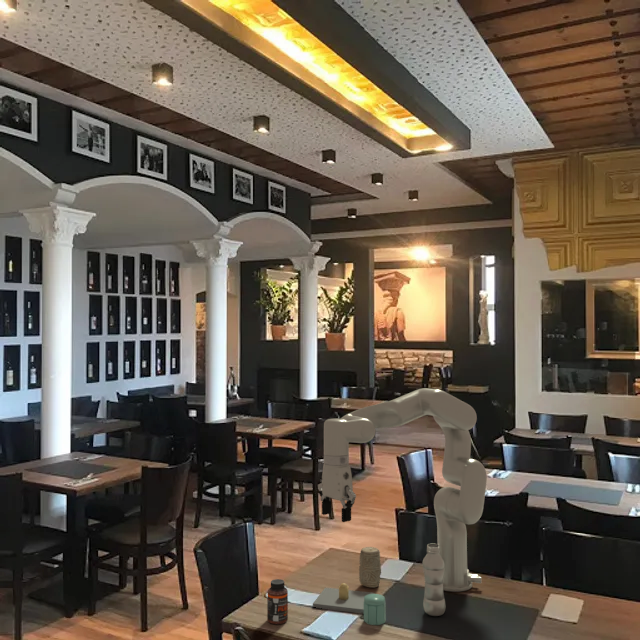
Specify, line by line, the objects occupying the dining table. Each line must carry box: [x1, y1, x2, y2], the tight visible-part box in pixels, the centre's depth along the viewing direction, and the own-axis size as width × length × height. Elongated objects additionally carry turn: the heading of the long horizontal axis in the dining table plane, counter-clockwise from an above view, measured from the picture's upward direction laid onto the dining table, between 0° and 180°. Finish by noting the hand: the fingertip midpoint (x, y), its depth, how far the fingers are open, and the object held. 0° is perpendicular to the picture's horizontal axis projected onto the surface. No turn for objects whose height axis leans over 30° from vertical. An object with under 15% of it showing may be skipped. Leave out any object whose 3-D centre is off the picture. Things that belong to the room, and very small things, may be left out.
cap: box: [363, 593, 387, 626], centre depth 184 cm, size 6×6×6 cm
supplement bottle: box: [266, 578, 289, 626], centre depth 185 cm, size 6×6×11 cm
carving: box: [358, 546, 382, 588], centre depth 210 cm, size 6×8×12 cm
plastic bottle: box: [422, 543, 447, 617], centre depth 188 cm, size 6×7×20 cm
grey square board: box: [312, 582, 375, 615], centre depth 197 cm, size 16×13×6 cm
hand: (336, 517), depth 191 cm, fingers open, 9 cm apart
